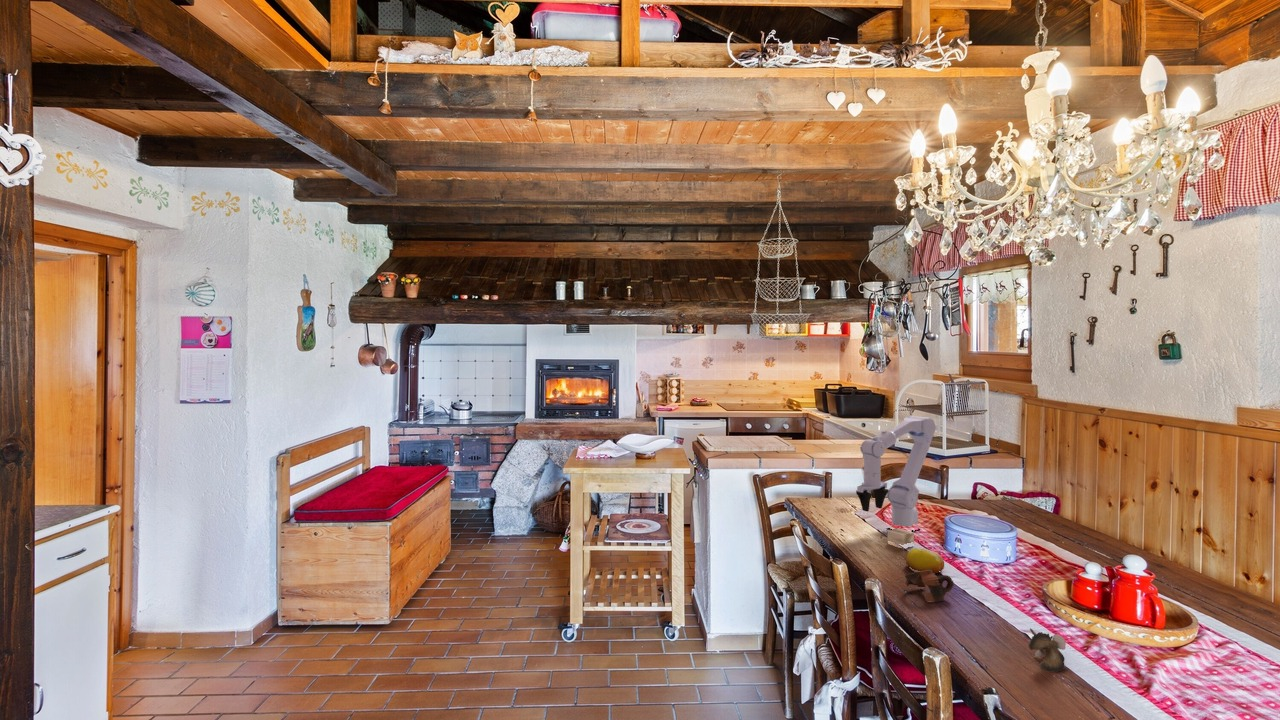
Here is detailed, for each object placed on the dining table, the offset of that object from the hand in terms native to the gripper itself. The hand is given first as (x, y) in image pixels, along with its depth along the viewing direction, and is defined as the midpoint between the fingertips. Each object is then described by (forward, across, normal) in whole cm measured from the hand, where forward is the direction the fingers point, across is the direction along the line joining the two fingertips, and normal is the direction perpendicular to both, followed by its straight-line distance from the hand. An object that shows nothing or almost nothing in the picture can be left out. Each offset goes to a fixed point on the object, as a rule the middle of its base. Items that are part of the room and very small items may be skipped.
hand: (872, 509), depth 214 cm
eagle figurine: (+10, +44, +76) cm, 89 cm away
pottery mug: (+10, +34, +43) cm, 56 cm away
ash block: (+10, +2, +13) cm, 16 cm away
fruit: (+10, +16, +31) cm, 36 cm away
